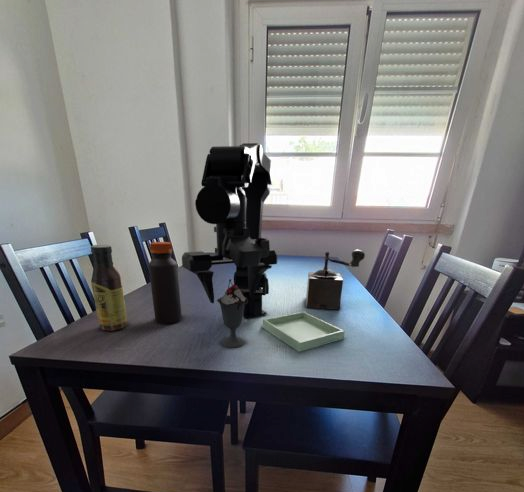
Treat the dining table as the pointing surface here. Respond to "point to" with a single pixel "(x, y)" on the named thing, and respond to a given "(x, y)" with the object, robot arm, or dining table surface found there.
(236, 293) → the sundae
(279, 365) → the dining table surface
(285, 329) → the serving tray
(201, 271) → the robot arm
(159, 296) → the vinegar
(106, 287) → the sauce bottle
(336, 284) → the manual coffee grinder
